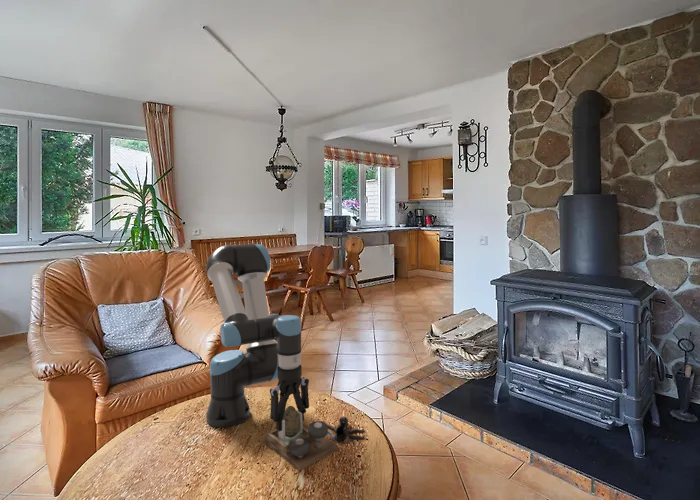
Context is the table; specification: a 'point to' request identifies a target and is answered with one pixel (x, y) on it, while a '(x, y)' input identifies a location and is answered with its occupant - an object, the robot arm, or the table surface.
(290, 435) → the decorative egg
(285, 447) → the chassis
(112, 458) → the table surface
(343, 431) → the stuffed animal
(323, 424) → the wheel
